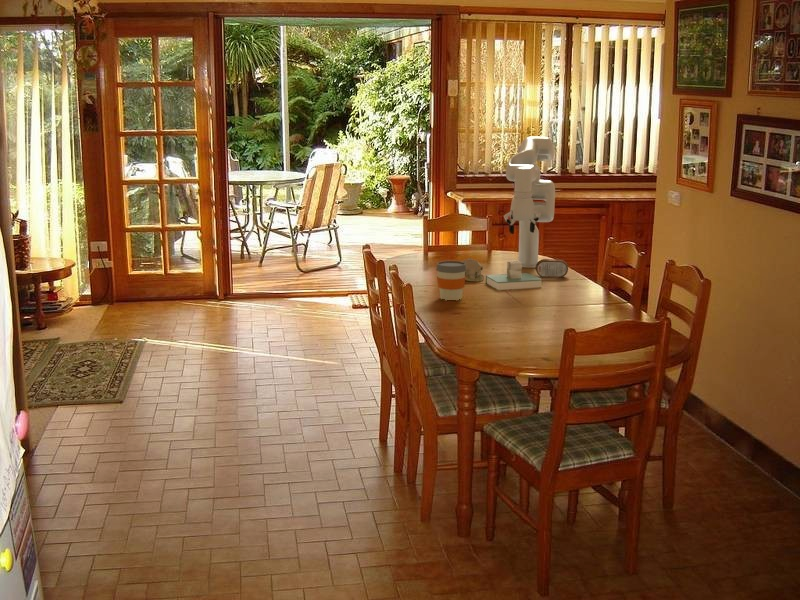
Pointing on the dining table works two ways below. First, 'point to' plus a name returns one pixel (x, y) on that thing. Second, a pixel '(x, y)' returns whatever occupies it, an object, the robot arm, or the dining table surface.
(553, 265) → the tin
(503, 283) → the book
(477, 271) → the ceramic model
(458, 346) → the dining table surface
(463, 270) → the reusable coffee cup
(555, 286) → the dining table surface
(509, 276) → the block
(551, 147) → the robot arm
